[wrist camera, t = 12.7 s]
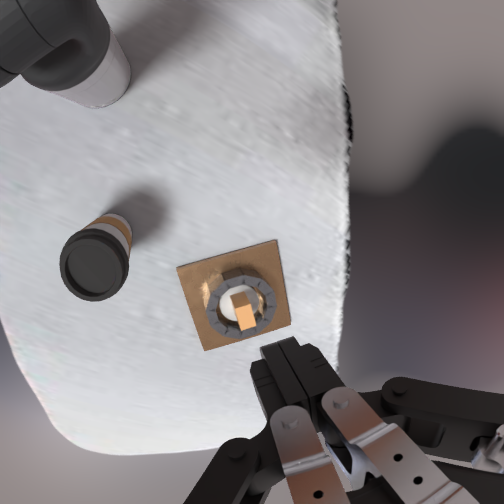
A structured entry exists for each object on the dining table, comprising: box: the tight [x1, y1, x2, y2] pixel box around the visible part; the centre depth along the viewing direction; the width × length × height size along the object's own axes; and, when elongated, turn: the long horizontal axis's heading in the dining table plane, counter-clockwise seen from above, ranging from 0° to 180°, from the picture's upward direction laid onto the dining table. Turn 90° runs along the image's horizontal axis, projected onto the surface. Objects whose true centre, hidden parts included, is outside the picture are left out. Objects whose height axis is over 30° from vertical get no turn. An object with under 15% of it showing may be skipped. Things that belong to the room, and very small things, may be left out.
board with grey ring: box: [176, 240, 291, 351], centre depth 52 cm, size 16×16×4 cm
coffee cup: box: [59, 214, 132, 302], centre depth 39 cm, size 8×8×15 cm
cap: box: [219, 285, 259, 331], centre depth 50 cm, size 6×6×6 cm
